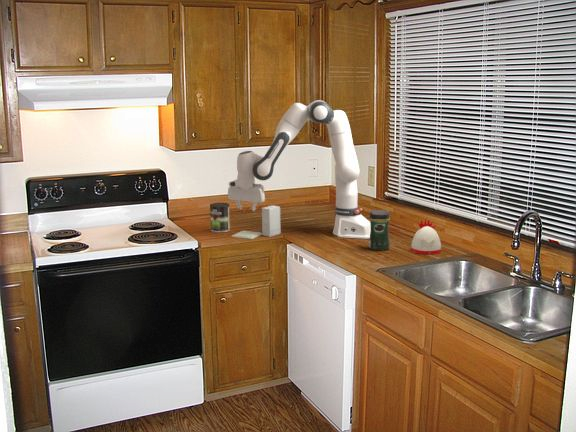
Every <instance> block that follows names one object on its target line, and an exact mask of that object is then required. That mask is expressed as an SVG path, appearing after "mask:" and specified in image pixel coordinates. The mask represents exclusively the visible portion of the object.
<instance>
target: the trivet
mask: <svg viewBox="0 0 576 432" xmlns="http://www.w3.org/2000/svg"><path fill="white" fill-rule="evenodd" d="M230 236H231V238H237V239H246V240H247V239H248V240H252V239H255V238H257V237H260V236H263V235H262V232H259V231H250V230H241V231H239V232H236V233H234V234H232V235H230Z"/></svg>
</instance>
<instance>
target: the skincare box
mask: <svg viewBox="0 0 576 432" xmlns="http://www.w3.org/2000/svg"><path fill="white" fill-rule="evenodd" d="M261 223H262V224H261V225H262V226H261V231H262V232H261V233H262V235H261V236H265V237H269V238H271V237H275V236H278V235H280V234H282V233H281V231H282V230H281V206H278V205H274V204H272V205H268V206H264V207H261Z"/></svg>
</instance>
